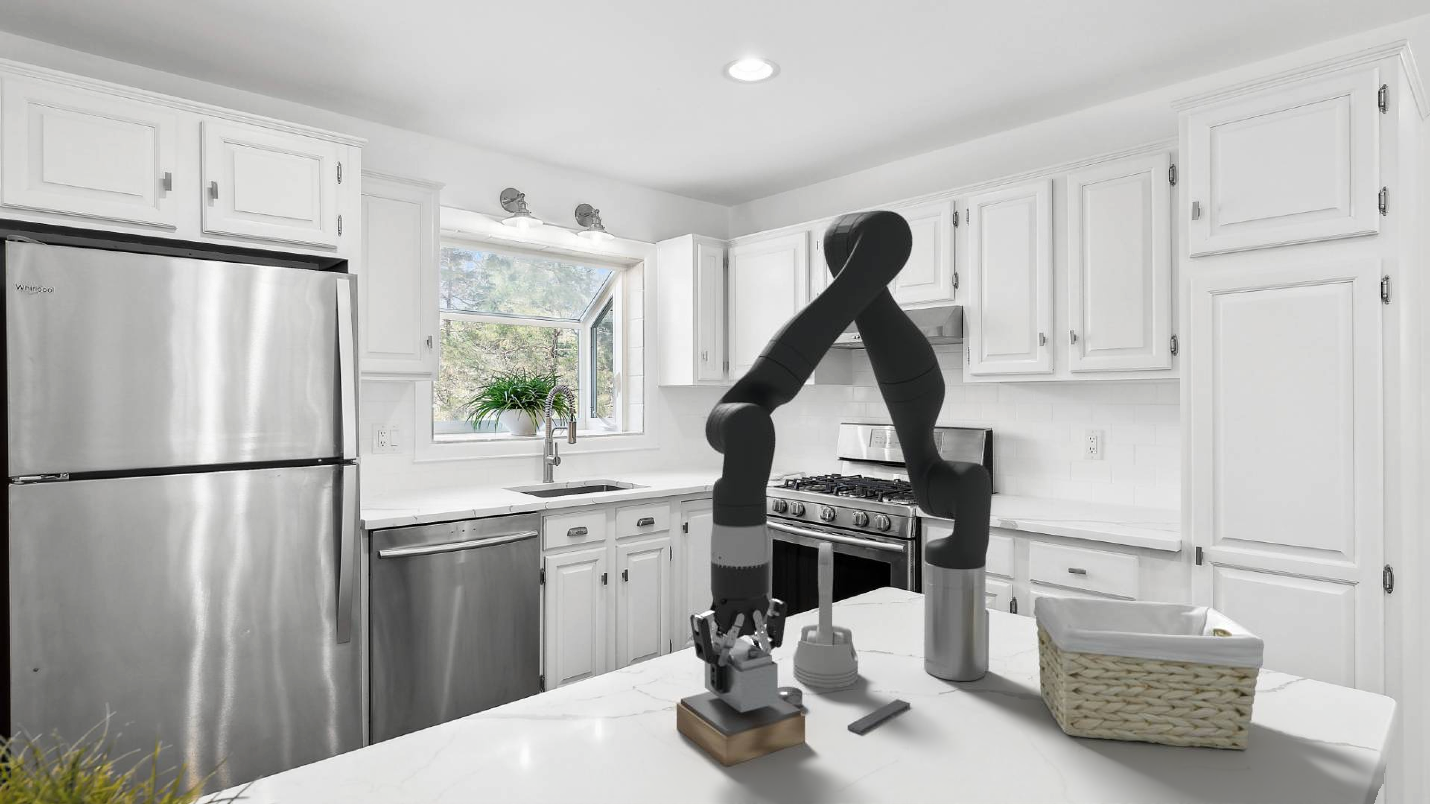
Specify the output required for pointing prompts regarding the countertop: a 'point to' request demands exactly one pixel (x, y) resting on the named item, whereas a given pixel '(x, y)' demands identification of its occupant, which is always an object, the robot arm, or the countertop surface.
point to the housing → (748, 678)
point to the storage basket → (1147, 671)
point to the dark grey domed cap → (791, 696)
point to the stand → (739, 727)
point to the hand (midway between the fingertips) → (740, 686)
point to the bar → (878, 716)
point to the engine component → (825, 638)
